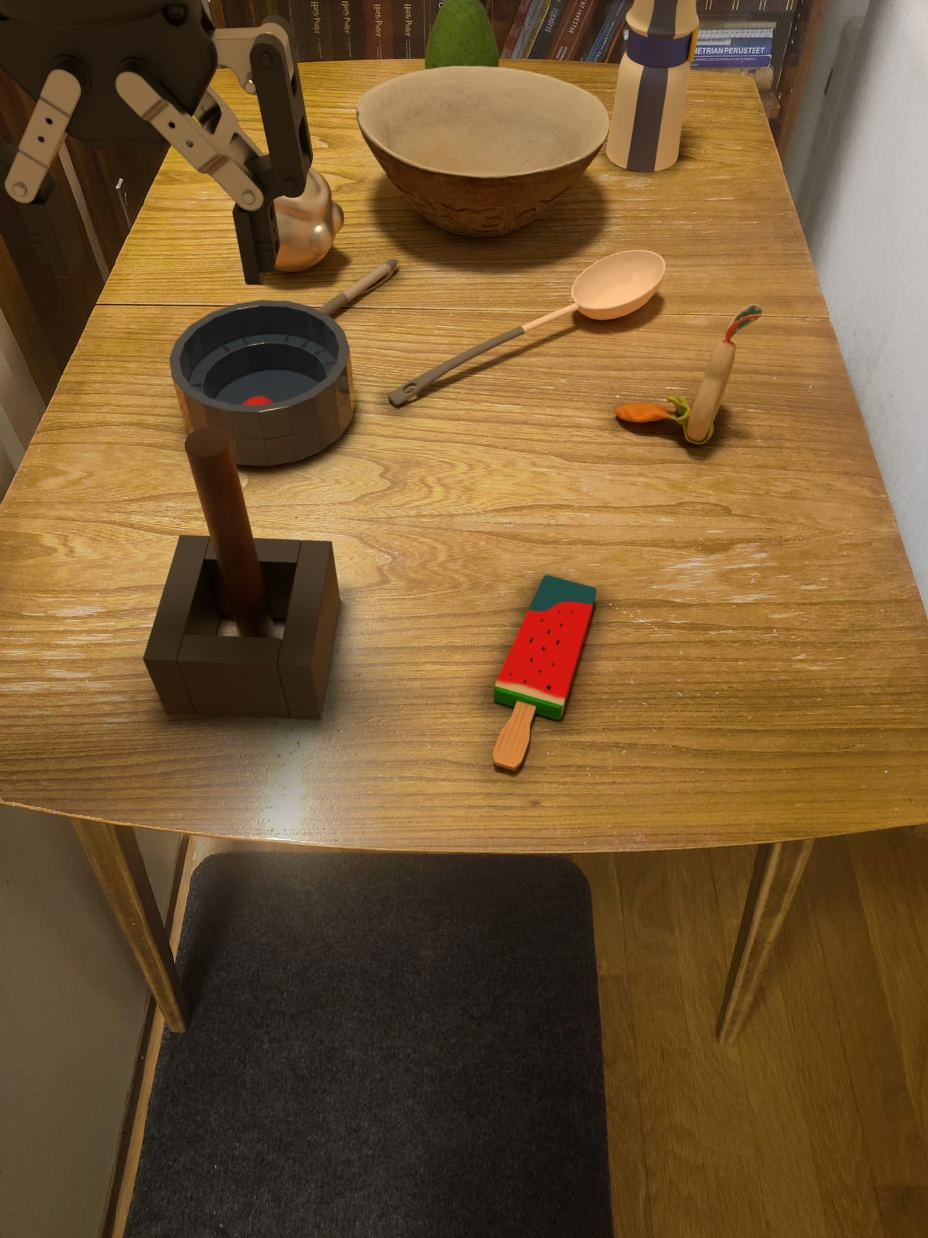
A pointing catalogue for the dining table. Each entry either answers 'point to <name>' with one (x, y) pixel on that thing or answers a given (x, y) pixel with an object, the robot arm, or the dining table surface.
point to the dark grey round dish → (266, 379)
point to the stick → (230, 529)
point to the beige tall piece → (709, 393)
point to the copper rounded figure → (307, 225)
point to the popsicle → (541, 662)
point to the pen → (361, 286)
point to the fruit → (461, 37)
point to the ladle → (574, 305)
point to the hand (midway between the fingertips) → (165, 271)
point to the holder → (245, 666)
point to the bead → (257, 401)
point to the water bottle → (653, 84)
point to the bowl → (482, 143)
